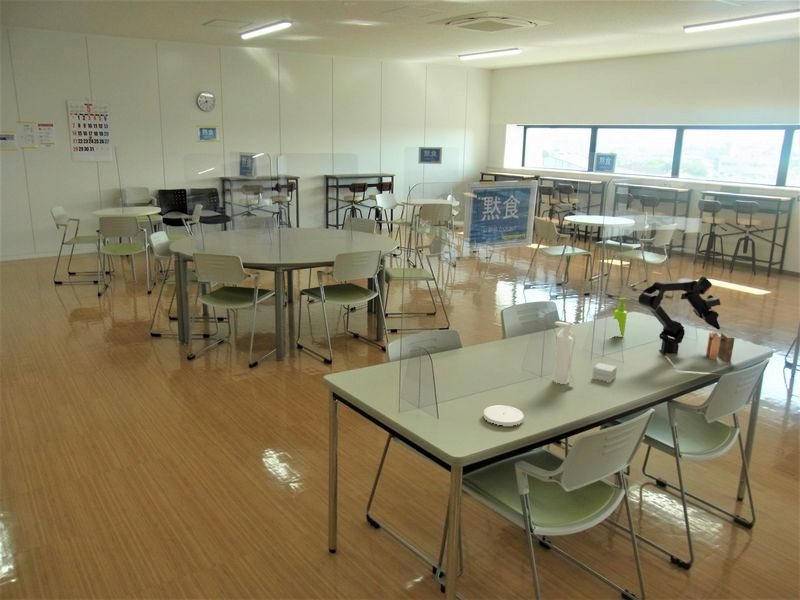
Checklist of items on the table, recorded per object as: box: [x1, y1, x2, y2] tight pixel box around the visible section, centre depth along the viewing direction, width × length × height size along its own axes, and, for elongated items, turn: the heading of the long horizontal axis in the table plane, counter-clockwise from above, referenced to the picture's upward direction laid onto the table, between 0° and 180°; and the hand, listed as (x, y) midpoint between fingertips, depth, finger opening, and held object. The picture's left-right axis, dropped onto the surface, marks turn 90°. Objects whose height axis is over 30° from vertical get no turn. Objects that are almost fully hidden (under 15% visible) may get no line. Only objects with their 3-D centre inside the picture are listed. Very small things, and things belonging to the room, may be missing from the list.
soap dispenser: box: [613, 297, 631, 338], centre depth 315 cm, size 6×7×20 cm
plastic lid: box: [483, 404, 525, 427], centre depth 220 cm, size 14×14×2 cm
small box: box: [592, 362, 618, 383], centre depth 261 cm, size 8×8×5 cm
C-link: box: [705, 331, 721, 361], centre depth 286 cm, size 3×6×11 cm, turn 172°
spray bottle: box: [553, 321, 576, 385], centre depth 252 cm, size 7×12×25 cm, turn 29°
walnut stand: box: [708, 332, 736, 362], centre depth 286 cm, size 9×8×12 cm
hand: (715, 326), depth 293 cm, fingers open, 9 cm apart
